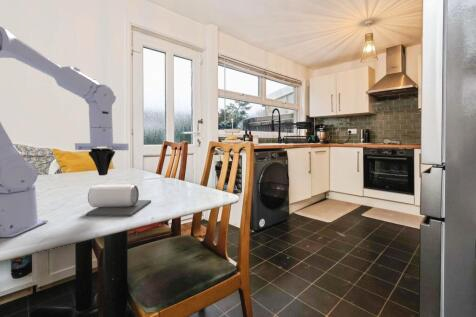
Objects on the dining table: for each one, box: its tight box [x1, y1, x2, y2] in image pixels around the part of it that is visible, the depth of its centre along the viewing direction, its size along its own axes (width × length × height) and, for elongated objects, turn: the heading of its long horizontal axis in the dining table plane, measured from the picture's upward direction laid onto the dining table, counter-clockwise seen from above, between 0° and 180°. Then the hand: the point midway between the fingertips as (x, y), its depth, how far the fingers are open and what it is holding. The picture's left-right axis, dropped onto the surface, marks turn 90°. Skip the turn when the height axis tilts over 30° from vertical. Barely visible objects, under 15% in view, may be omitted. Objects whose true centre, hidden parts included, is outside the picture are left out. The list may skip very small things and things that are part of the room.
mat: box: [86, 199, 152, 217], centre depth 70 cm, size 14×12×1 cm
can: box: [87, 183, 140, 208], centre depth 70 cm, size 6×6×12 cm
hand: (103, 175), depth 69 cm, fingers closed
